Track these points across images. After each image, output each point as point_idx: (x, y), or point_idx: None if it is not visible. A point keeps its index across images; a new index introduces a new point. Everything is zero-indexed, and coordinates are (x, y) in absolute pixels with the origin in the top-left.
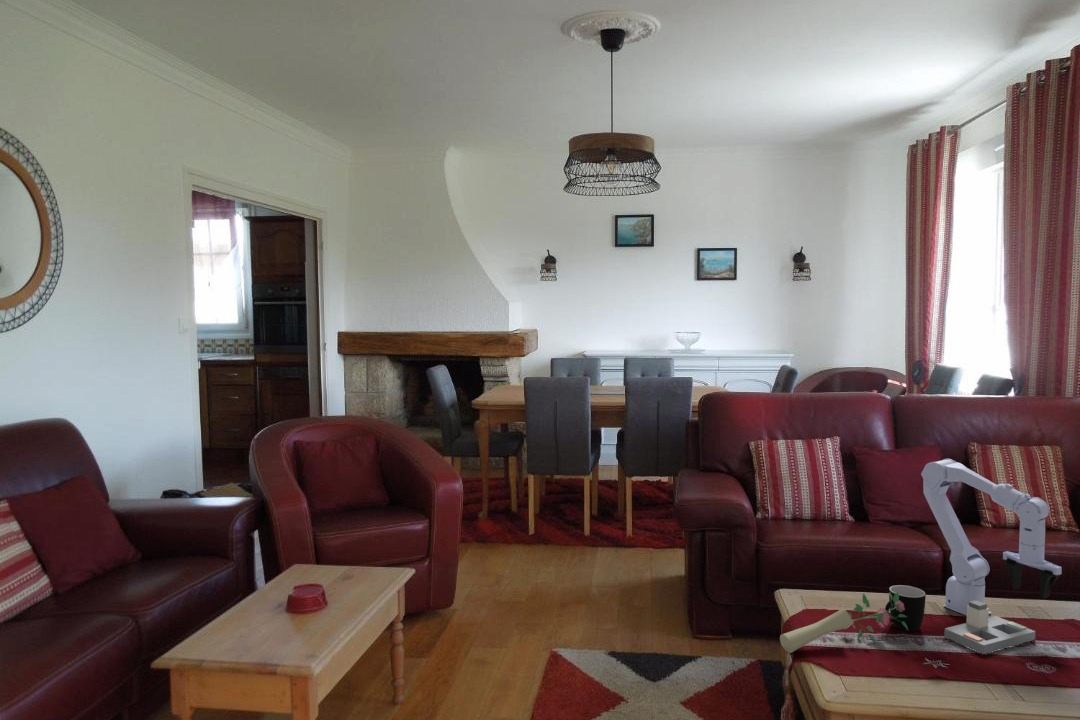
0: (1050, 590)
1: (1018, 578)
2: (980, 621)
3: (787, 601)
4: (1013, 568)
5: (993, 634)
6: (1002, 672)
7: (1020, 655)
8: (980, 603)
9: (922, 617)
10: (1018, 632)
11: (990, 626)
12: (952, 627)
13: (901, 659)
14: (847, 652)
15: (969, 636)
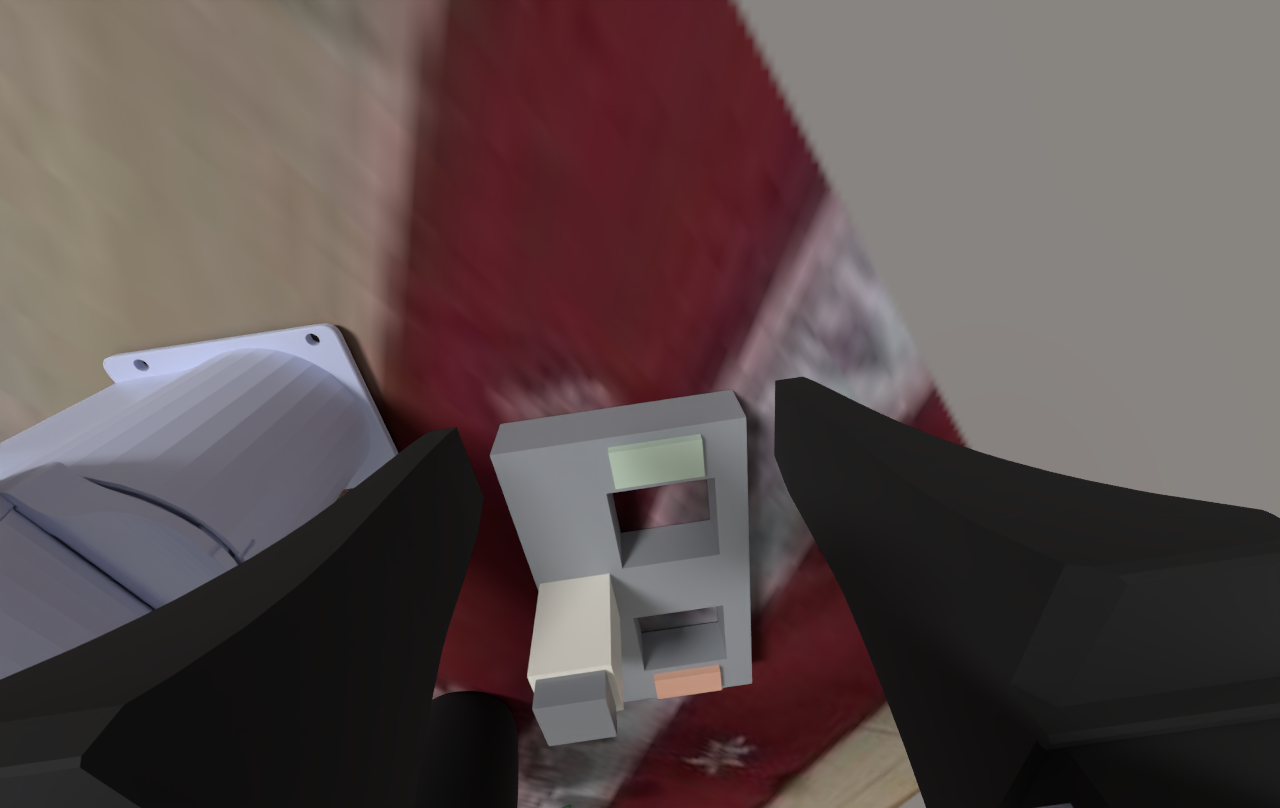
0: (860, 409)
1: (415, 533)
2: (620, 644)
3: None
4: (393, 804)
5: (691, 607)
6: (851, 666)
7: (804, 552)
8: (586, 717)
9: (506, 760)
10: (719, 505)
11: (615, 566)
12: None
13: (673, 796)
14: None
15: (684, 694)
